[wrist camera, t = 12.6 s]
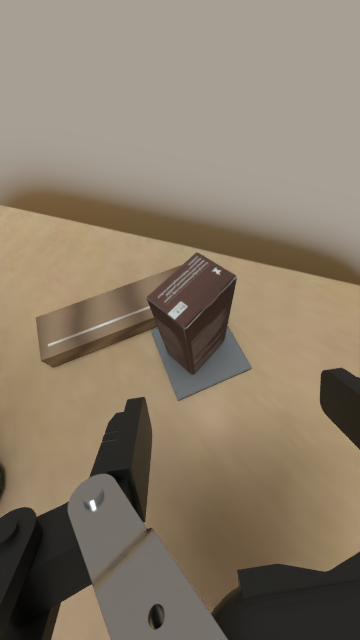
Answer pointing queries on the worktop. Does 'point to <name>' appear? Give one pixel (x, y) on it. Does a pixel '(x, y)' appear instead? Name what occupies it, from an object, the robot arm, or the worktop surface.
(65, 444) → the worktop surface
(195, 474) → the worktop surface
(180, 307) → the box
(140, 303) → the walnut board
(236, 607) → the robot arm
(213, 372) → the grey mat
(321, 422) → the worktop surface
